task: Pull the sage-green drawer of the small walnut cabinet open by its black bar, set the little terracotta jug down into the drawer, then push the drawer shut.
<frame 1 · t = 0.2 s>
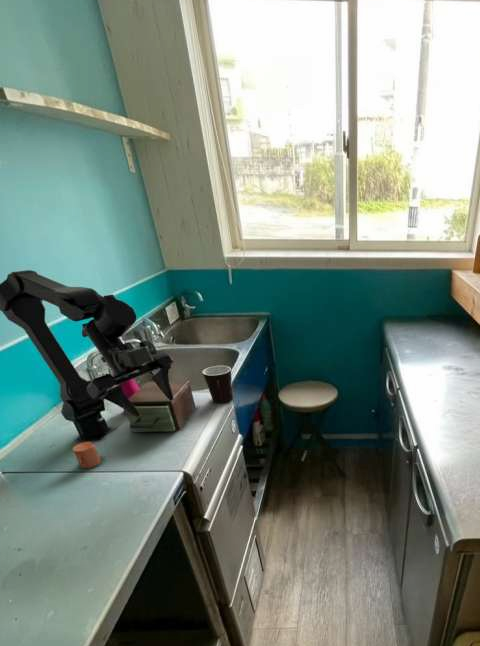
hand: (155, 407, 91), 15 cm above the table, tool tilted 30°, fingers open, 9 cm apart
jug: (91, 463, 98), on the table
coffee mug: (221, 401, 129), on the table
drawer: (156, 413, 111), point 5 cm above the table, slide at 1.0 cm
cabinet: (167, 418, 118), on the table
magenta rounded piece: (136, 411, 123), on the table
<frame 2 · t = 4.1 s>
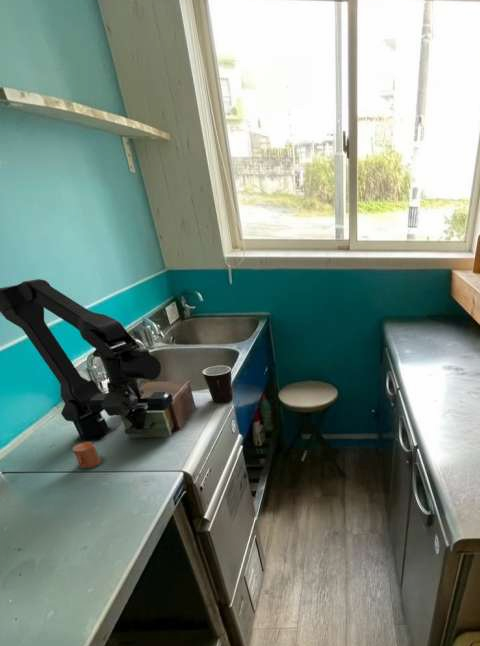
hand: (141, 431, 103), 4 cm above the table, tool pointing down, fingers closed, pressing on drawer
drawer: (151, 417, 109), point 5 cm above the table, slide at 4.0 cm, touching gripper
everything else where it was.
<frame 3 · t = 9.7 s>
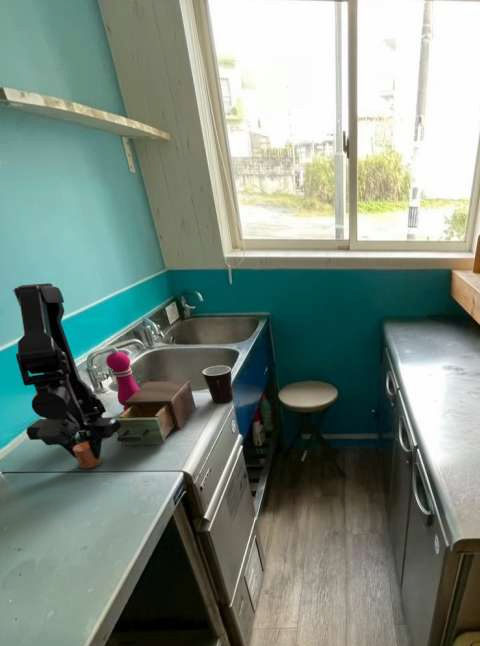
hand: (88, 458, 97), 2 cm above the table, tool pointing down, fingers closed on jug, 4 cm apart
jug: (91, 463, 98), on the table, touching gripper
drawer: (145, 424, 106), point 5 cm above the table, slide at 8.0 cm
everything else where it was.
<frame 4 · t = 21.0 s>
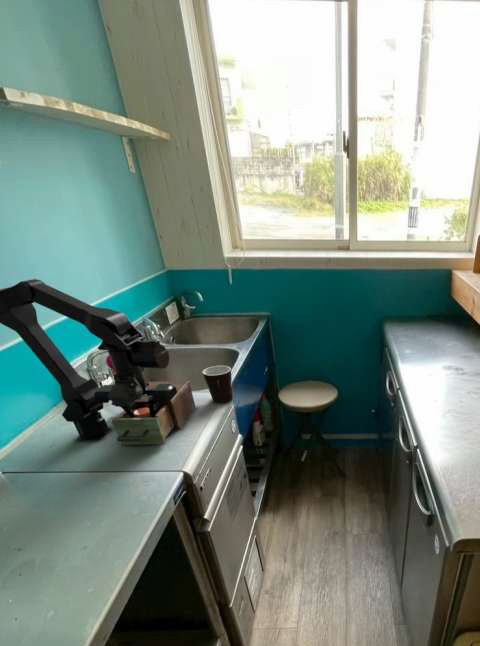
hand: (146, 422, 106), 5 cm above the table, tool pointing down, fingers closed on jug, 4 cm apart
jug: (148, 427, 107), point 3 cm above the table, touching gripper
everything else where it was.
when the fingers open (7 cm above the table, at t = 31.7 s): jug drops 4 cm, resting on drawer.
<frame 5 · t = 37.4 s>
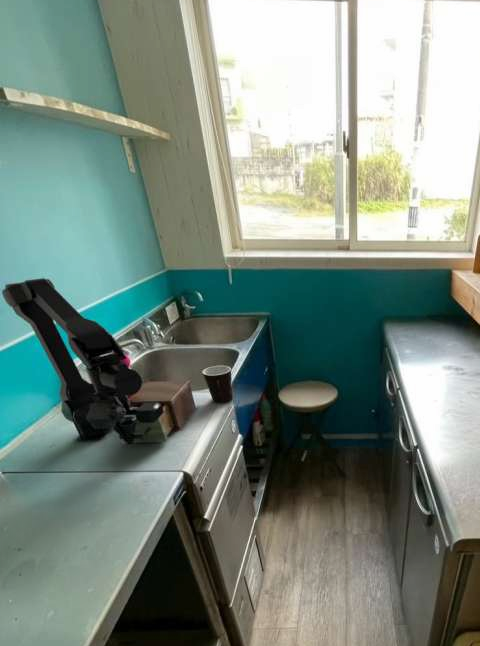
hand: (130, 443, 98), 4 cm above the table, tool pointing down, fingers closed
jug: (151, 429, 109), point 2 cm above the table, touching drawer
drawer: (147, 422, 107), point 5 cm above the table, slide at 6.8 cm, touching gripper, jug
everything else where it was.
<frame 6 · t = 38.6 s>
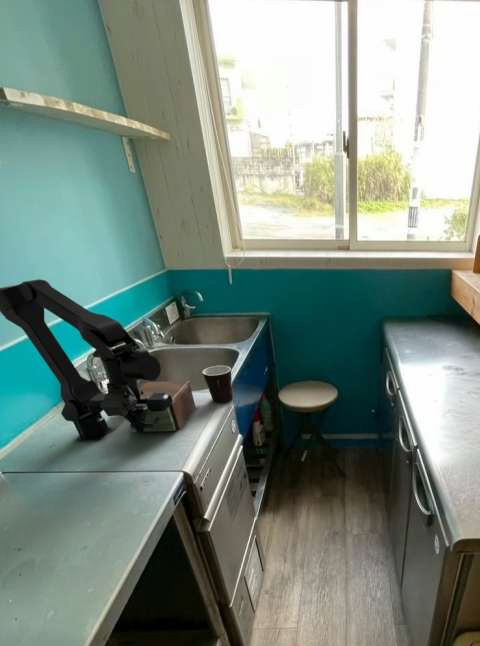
hand: (141, 431, 103), 4 cm above the table, tool pointing down, fingers closed, pressing on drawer
jug: (160, 419, 114), point 2 cm above the table, touching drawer
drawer: (156, 412, 112), point 5 cm above the table, slide at 0.9 cm, touching gripper, jug
everything else where it was.
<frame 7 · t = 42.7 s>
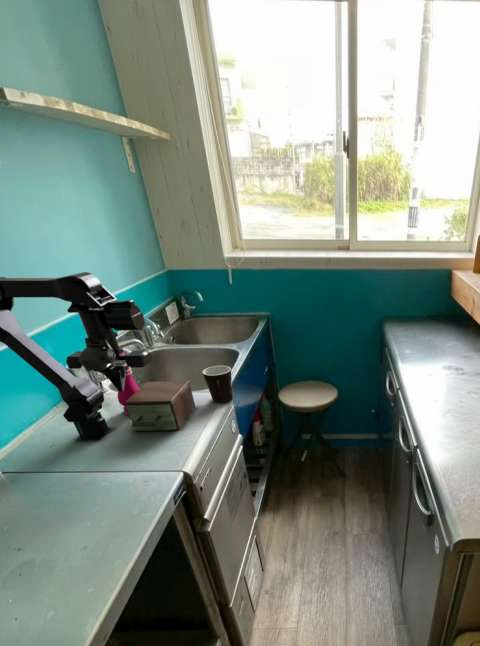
hand: (121, 390, 103), 13 cm above the table, tool pointing down, fingers closed
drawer: (157, 411, 112), point 5 cm above the table, slide at 0.0 cm, touching jug
everything else where it was.
at the end: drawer pulled out 8.1 cm at the most during the clip, back to where it started at the end; jug inside the target area in the cabinet (3.4 cm from its centre), point 2.0 cm above the cabinet's base; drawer slide at 0.0 cm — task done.
